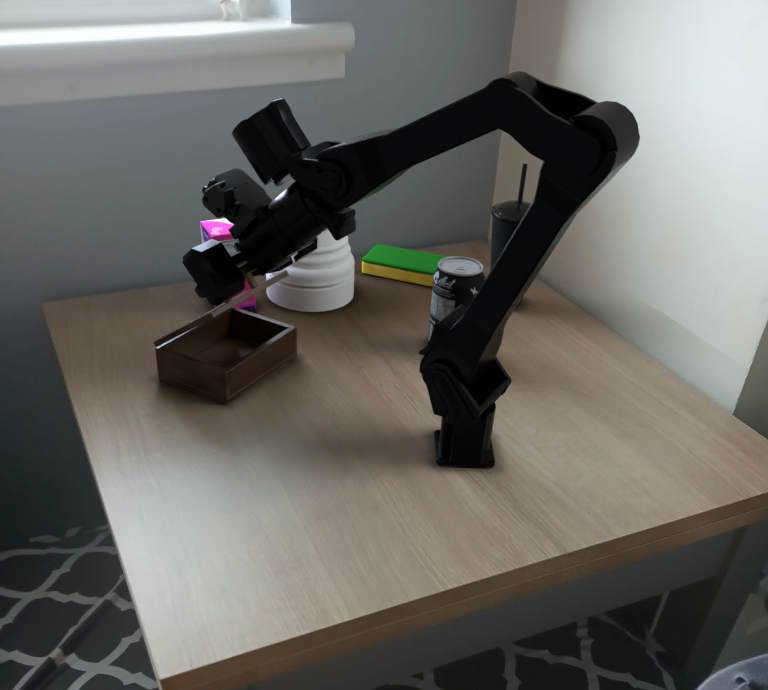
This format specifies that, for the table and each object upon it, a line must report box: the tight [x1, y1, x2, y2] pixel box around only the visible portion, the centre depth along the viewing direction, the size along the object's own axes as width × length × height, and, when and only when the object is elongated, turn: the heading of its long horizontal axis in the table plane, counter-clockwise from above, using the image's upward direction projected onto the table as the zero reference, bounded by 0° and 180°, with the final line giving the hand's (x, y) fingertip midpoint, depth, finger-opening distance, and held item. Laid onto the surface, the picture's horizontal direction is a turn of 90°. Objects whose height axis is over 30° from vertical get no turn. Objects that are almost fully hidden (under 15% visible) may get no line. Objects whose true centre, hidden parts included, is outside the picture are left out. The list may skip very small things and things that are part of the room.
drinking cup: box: [489, 163, 532, 309], centre depth 125 cm, size 8×8×20 cm
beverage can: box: [426, 255, 486, 345], centre depth 115 cm, size 7×7×12 cm
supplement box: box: [199, 217, 257, 311], centre depth 122 cm, size 6×6×12 cm
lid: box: [152, 262, 289, 348], centre depth 106 cm, size 11×15×5 cm
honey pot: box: [265, 228, 356, 313], centre depth 125 cm, size 13×13×18 cm
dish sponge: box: [361, 243, 447, 287], centre depth 137 cm, size 7×14×2 cm, turn 70°
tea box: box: [154, 307, 298, 405], centre depth 110 cm, size 11×15×4 cm
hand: (214, 284), depth 106 cm, fingers closed on lid, 6 cm apart
